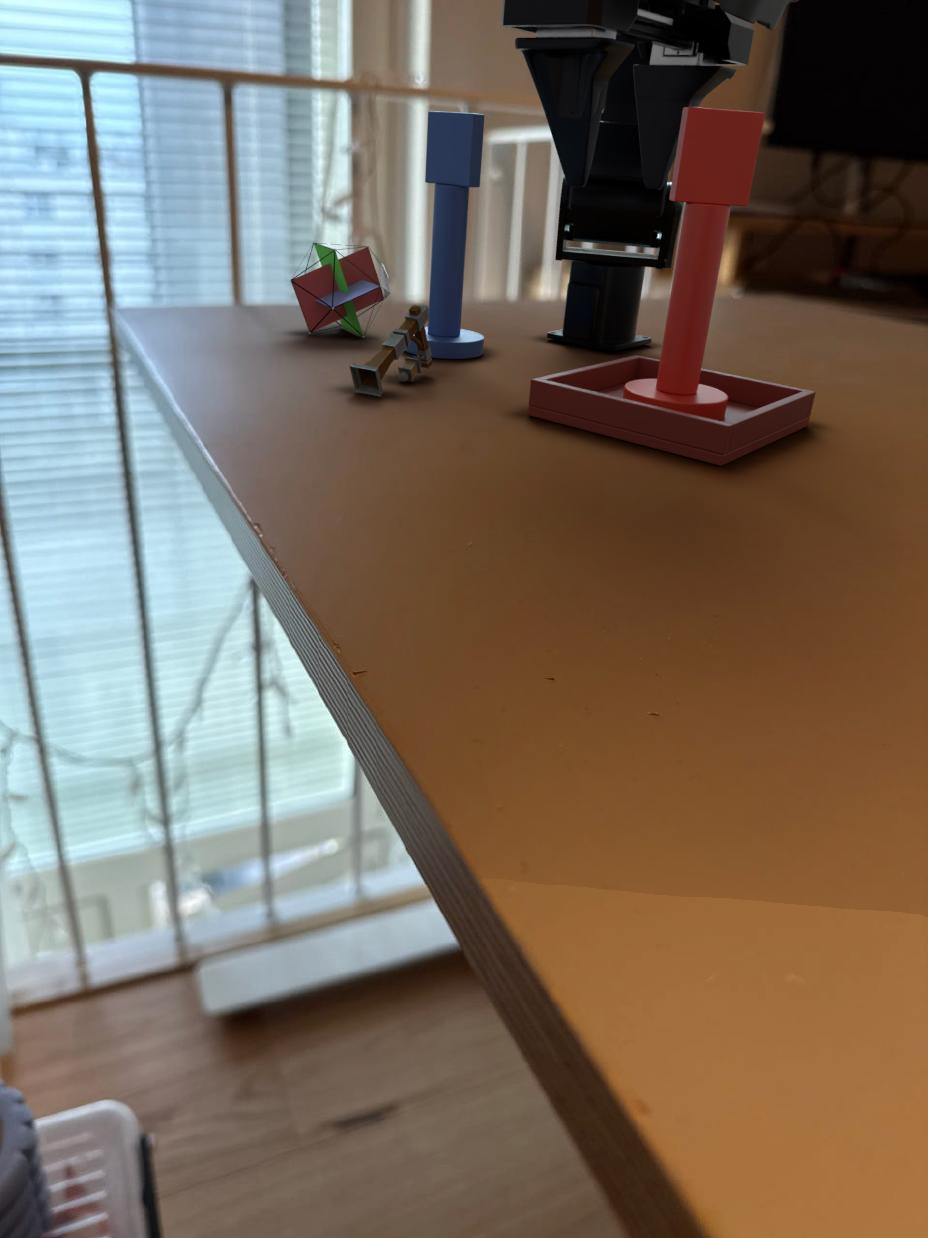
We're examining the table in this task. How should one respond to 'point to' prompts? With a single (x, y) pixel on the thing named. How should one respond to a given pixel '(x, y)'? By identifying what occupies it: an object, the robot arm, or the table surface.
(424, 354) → the jointed funnel contraption
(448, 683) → the table surface
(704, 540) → the table surface
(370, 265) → the geometric puzzle
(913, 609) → the table surface
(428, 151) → the blue pillar
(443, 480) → the table surface
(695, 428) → the red tray
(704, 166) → the signpost on round base
